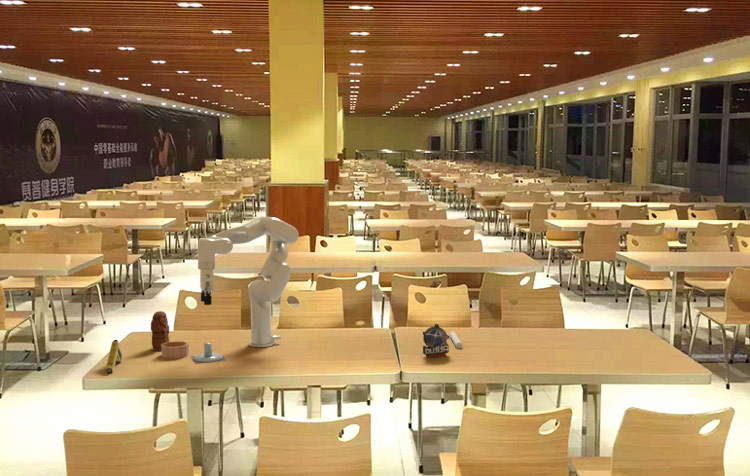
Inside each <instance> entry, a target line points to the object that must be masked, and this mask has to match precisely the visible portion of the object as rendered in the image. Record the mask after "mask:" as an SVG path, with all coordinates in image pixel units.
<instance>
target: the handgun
mask: <svg viewBox="0 0 750 476" xmlns="http://www.w3.org/2000/svg"><path fill="white" fill-rule="evenodd" d="M110 345H111V346H110V350H109V354H108V357H107V363H106V366H105V371H106V373H107V374H113V372H114V368H115V367H116V364H121V363H122V360H123V354H122V351H121V349H120V344H119V341H118V340H117V339H114V340H113V341H112V342H111V344H110Z"/></svg>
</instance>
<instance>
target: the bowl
mask: <svg viewBox="0 0 750 476" xmlns="http://www.w3.org/2000/svg"><path fill="white" fill-rule="evenodd" d="M189 347H190V345H189V342H187V341H183V340H182V341H180V340H174V341H173V340H172V341H169V342H166V343H163V344H161V351H160V352H161V353H160V354H161V358H163V359H167V360H168V359H171V360H172V359H182V358H185V357H188V356H189V355H190V354H189V353H190V348H189Z"/></svg>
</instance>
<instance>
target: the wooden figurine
mask: <svg viewBox="0 0 750 476" xmlns="http://www.w3.org/2000/svg"><path fill="white" fill-rule="evenodd" d="M151 319H152V320H151V321H150V331H151V333H152V334H151V344H152V350H153V352H161V344H163V343H166V342H170V337H169V336H170V335H169V334H170V325H169V324H168V323H169V322H168V321H169V320H168V316H167V313H165V311H162V310H161V311H160V310H159V311H156V312H154V313H153V315H152V318H151Z"/></svg>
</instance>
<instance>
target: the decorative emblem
mask: <svg viewBox="0 0 750 476" xmlns="http://www.w3.org/2000/svg"><path fill="white" fill-rule="evenodd" d="M422 335H423V337H422V338H423V343H424V344H425V345H422V354H423V355H425V357H426V358H428V359H431V358H440V357H441V358H442V357H446V356H447V355H446V354H448V353H449V352H450V349H449V347H450V344H448V342H447V341H448V340H450V335H448V334H447V332H446V331H445V330H444V329H443V328H441V327H440V326H439V324H437V323H435V324H434V326H431V327H428V328H427V329H426V330H425V331H422Z"/></svg>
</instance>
